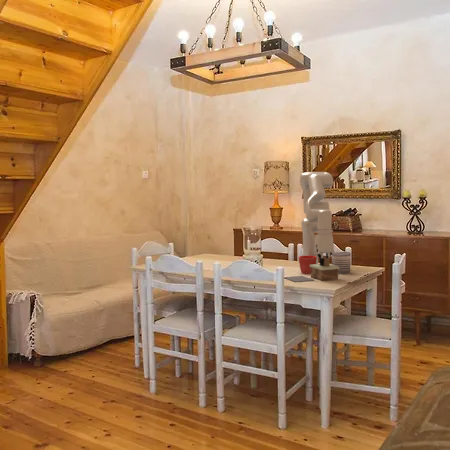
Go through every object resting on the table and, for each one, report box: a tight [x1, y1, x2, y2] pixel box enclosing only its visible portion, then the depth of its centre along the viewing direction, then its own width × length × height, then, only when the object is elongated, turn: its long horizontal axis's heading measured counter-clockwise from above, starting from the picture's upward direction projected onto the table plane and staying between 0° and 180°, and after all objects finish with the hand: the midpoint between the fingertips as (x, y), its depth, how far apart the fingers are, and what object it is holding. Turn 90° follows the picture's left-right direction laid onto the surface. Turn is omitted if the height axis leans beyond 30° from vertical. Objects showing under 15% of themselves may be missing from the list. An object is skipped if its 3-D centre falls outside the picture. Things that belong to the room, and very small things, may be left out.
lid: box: [310, 256, 339, 270], centre depth 289 cm, size 13×11×7 cm
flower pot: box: [297, 255, 317, 275], centre depth 308 cm, size 11×11×10 cm
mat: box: [284, 275, 316, 283], centre depth 288 cm, size 14×12×1 cm
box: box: [310, 267, 339, 282], centre depth 289 cm, size 12×10×6 cm
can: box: [331, 251, 352, 275], centre depth 307 cm, size 11×11×12 cm
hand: (324, 264), depth 289 cm, fingers closed on lid, 2 cm apart
